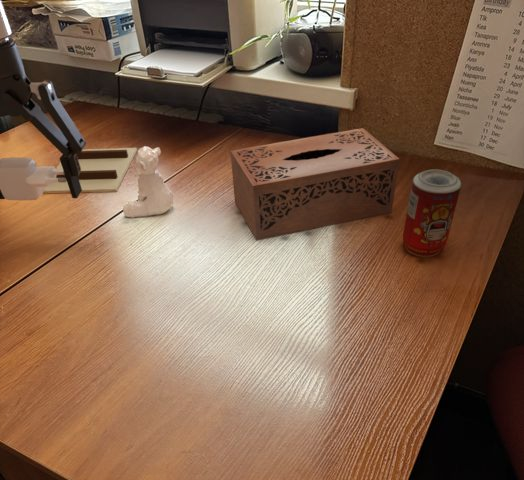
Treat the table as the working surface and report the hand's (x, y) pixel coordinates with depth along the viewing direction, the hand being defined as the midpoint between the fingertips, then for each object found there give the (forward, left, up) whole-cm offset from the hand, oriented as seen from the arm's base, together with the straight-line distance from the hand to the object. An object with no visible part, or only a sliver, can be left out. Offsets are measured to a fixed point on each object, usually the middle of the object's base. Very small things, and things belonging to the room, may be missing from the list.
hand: (41, 194), depth 82 cm
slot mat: (-3, +30, -10) cm, 31 cm away
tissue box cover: (+44, +12, -10) cm, 47 cm away
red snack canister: (+62, -2, -10) cm, 63 cm away
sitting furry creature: (+14, +13, -10) cm, 21 cm away
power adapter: (0, 0, 0) cm, 0 cm away
